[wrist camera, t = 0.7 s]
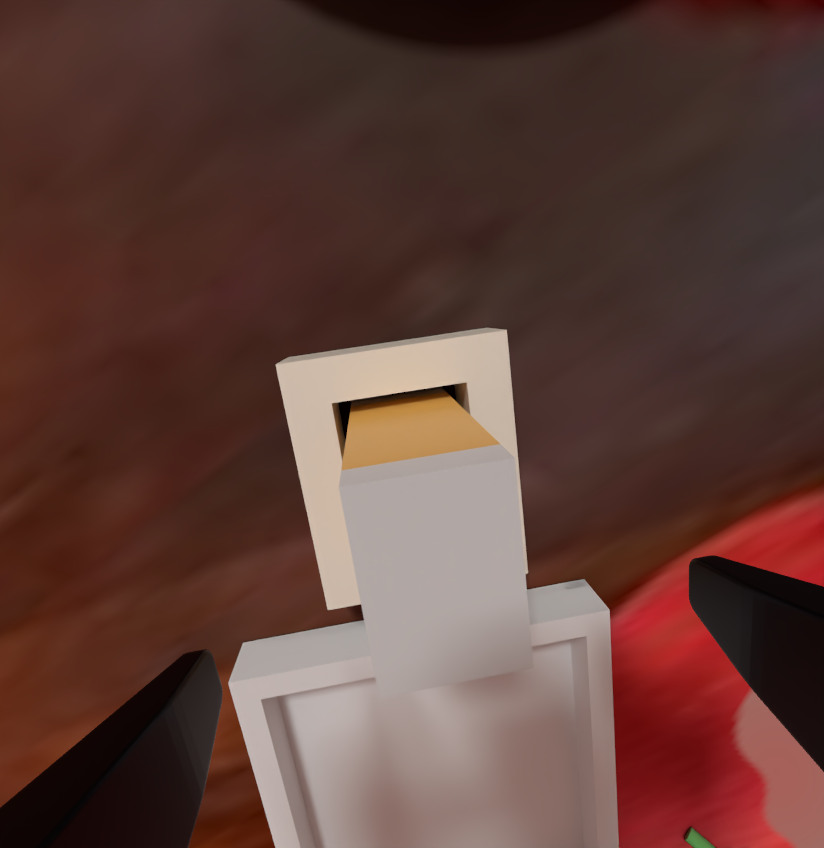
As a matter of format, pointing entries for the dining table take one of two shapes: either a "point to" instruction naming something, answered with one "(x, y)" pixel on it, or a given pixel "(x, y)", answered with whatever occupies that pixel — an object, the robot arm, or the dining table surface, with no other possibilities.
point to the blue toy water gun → (697, 839)
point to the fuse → (434, 543)
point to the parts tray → (436, 740)
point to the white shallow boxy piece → (375, 376)
